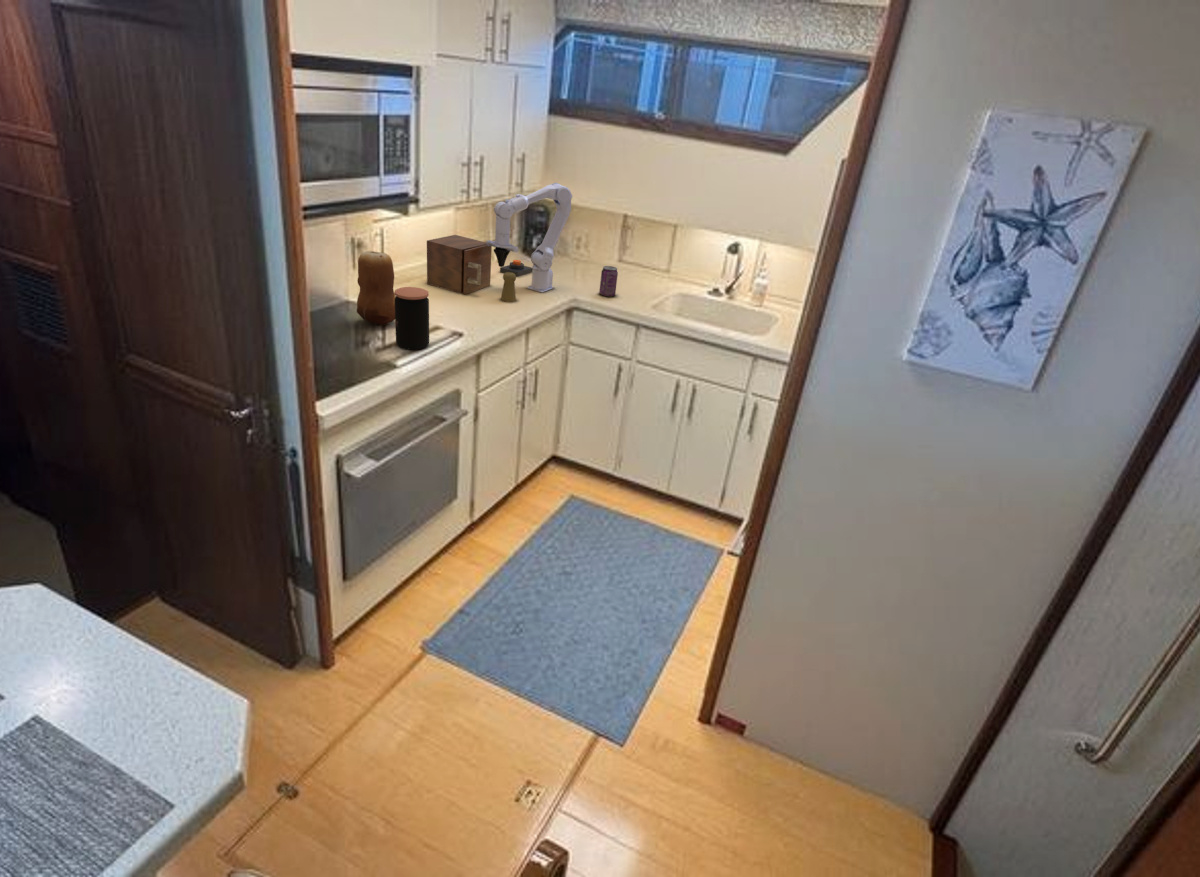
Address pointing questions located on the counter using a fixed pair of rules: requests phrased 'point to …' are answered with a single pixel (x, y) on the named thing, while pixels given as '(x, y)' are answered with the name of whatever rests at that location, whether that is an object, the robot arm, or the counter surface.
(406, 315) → the coffee jar
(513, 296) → the pepper shaker
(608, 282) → the beverage can
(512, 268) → the switch block
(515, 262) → the button
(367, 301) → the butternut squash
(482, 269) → the door
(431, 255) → the cupboard
